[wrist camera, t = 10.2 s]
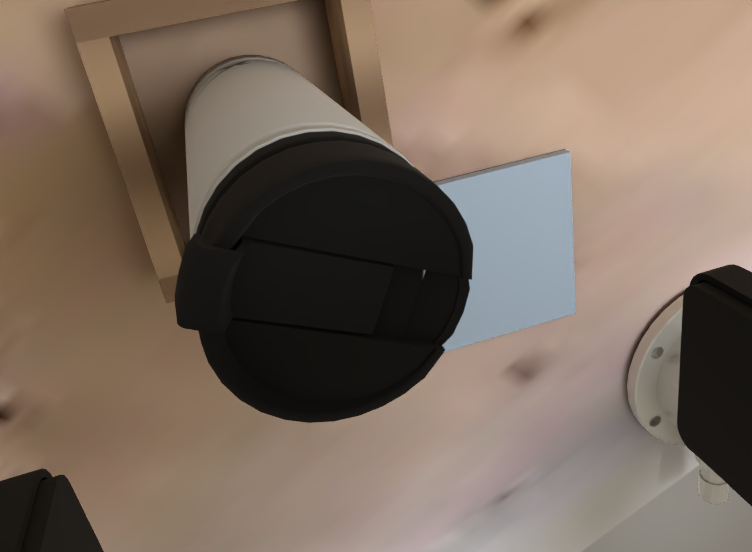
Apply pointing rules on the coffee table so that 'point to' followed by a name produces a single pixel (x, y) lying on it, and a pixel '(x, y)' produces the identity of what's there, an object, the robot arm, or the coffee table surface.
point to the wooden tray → (126, 120)
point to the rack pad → (516, 246)
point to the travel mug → (311, 249)
